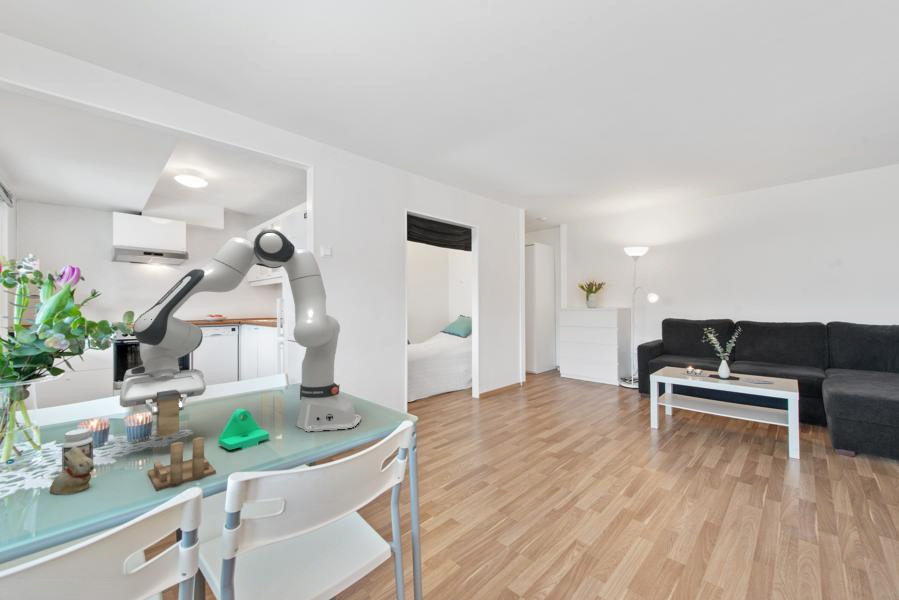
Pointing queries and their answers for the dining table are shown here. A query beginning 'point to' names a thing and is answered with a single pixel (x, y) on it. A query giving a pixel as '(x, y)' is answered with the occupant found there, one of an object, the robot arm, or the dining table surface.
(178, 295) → the robot arm
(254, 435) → the camera mount
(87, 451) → the pill bottle
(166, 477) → the wooden twin towers
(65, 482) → the chocolate bunny
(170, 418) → the brown tall rectangular block
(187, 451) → the dining table surface
